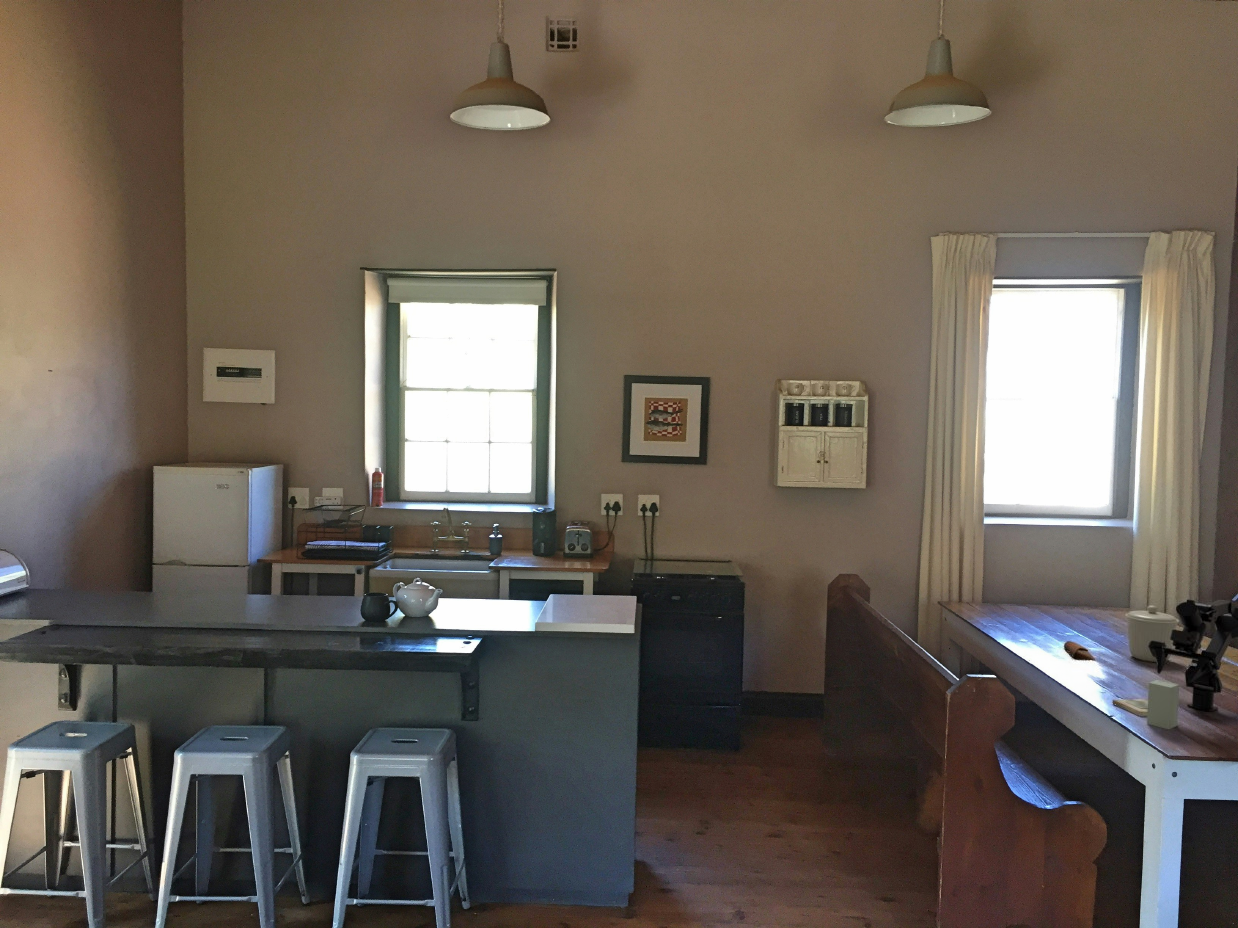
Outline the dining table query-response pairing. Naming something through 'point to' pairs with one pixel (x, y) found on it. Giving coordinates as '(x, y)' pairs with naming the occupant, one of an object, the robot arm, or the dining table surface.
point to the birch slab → (1134, 705)
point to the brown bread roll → (1078, 651)
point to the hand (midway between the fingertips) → (1174, 676)
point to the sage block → (1163, 704)
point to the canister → (1149, 631)
